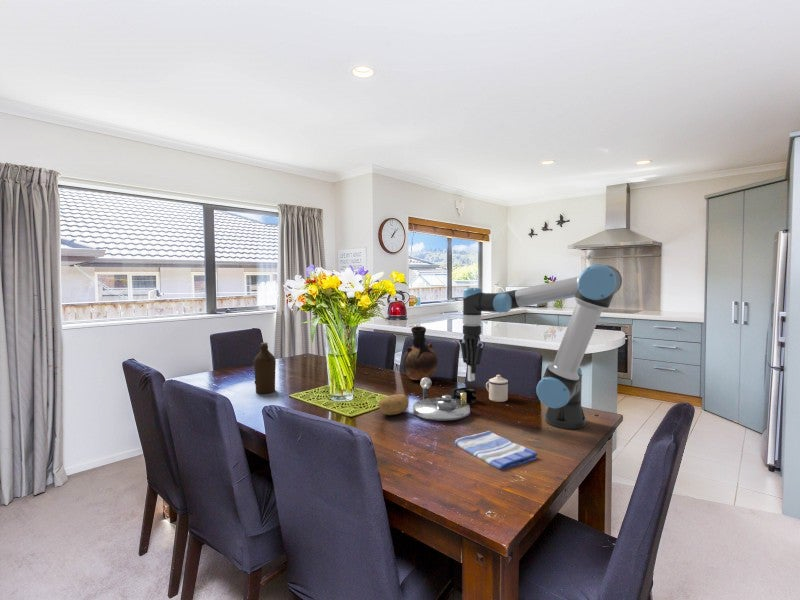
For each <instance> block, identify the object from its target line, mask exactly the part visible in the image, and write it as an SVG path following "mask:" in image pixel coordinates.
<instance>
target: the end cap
mask: <svg viewBox="0 0 800 600" xmlns="http://www.w3.org/2000/svg"><path fill="white" fill-rule="evenodd" d="M462 392H465V393H466V403H467V404H468V405H473V404H476V402H477V401H476V400H477V396H476V395H477V390H475V389H473V387H472V385H471V386H465V387H458V388H453V389H451V392H450V395H451V399H456V400H460V401H461V393H462ZM473 394H475V395H473Z"/></svg>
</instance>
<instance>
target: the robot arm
mask: <svg viewBox="0 0 800 600" xmlns="http://www.w3.org/2000/svg"><path fill="white" fill-rule="evenodd" d="M622 283H623V278H622V275H621V273H620V271H619V270H618V269H617V268H615V267H614V266H611V265H608V264H592V265H590V266H588V267H586V268H585V269H584V270H582V271H581V273H580V274H579V275H578V276H575V277H570V278H566V279H561V280H557V281H556V280H555V281H552V282H547V283H543V284H538V285H533V286H528V287H524V288H519V289H515V290H510V291H503V292H497V293H496V292H487V293H486V292H483V291H482V288H481V287H465V288H464V289H463V297H462V300H463V301H462V304H463V305H462V311H463V312H462V324H463V325H462V335H463V338H461V339H459V341H458V342H459V344H460V348H461V349H460V350H461V355H462V361H463V363H465V365H466V372H467V381H468V382H473V381H476V373H477V372H476V371H477V367H476V366H478V365H480V364H481V359H482V356H483V355H482V354H483V351H484V348H485V346H486V344H485V342H482V341H481V334H482V326H481V324H482V312H491V313H499V314H501V313H508V312H510V310H514V309H519V308H525V307H529V306H534V305H535V306H536V305H540V304H546V303H550V302H555V301H556V302H557V301H561V300H567V299H573V298H574V299H575V302H576V303H575V306H574V308H573V312H572V314H571V316H570V319H569V322H568V324H567V327H566V329H565V332H564V335H563V337H562V340H561V342H560V344H559V346H558V347H559V348H558V350H557V351H556V355H555V357H554V359H553V362H551V363H548V364H547V366H546V368H545V372H544V373H543V376H542V378H541V379H539V381H538V382H537V384H536V387H535V391H536V396H537V398H538V399H539V401H540V402H541V403H542V404H543V405H545V406H546V407H547V409H546V412H545V413H544V414H545V415H544V421H545V422H546V423H547V424H548V425H550V426H552V427H555V428H560V429H566V430H567V429H568V430H577V428H578V429H582V428H584V427H585V426H586V425H585V424H587V423H586V416H585V412H584V410H583V406H582V390H583V389H582V386H583V385H582V384H583V383H582V382H583V381H582V379H583V372H582V368H581V367H580V365H581V363H582V360H583V358H584V356H585V354H586V351H587V348H588V346H589V344H590V341H591V338H592V337H593V334H594V331H595V328H596V326H597V324H598V322H599V319H600V316H601V314H602V312H603V311H606V310H607V309H609V307H610V304H611V303H612V300H613V298H614V295H615V294H617V293H618V291H619V290H620V289H621V287H622V285H623V284H622ZM583 426H584V427H583ZM581 427H582V428H581Z"/></svg>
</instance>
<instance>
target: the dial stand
mask: <svg viewBox="0 0 800 600" xmlns="http://www.w3.org/2000/svg"><path fill="white" fill-rule="evenodd" d="M419 381H420V383H419V384H420V386H421V388H422V400H423V399H428V389H429V388H431V386H432V380H431V378H427V377H424V378H422V379H421V380H419Z"/></svg>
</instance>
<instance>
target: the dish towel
mask: <svg viewBox="0 0 800 600" xmlns="http://www.w3.org/2000/svg"><path fill="white" fill-rule="evenodd" d="M454 445H455V446H456V447H458V448H460V449H461V450H463V451H465V452H466V453H468V454H469V455H471V456H473V457H475V458H477V459H479V460H480V461H482V462H484V463H486V464H488V465H490V466H492V467H493V468H496V469H498V470H500V471H502V470H506V469H510V468H512V467H516V466H519V465H523V464H525V463H528V462H532V461H536V460H538V458H537V457H536V456H538V453H537V452H536V451H535V450H533V449H530V448H528V447H525V446H523V445H521V444H518V443H514V442H512V441H510V440H509V439H508V438H506V437H503V436H500V435H498V434H496V433H494V432H493V431H492V430H487V431H484V432H480V433H474V434H472V435H468V436H467V435H466V436H463V437H460V438H456V439H455V441H454Z"/></svg>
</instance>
